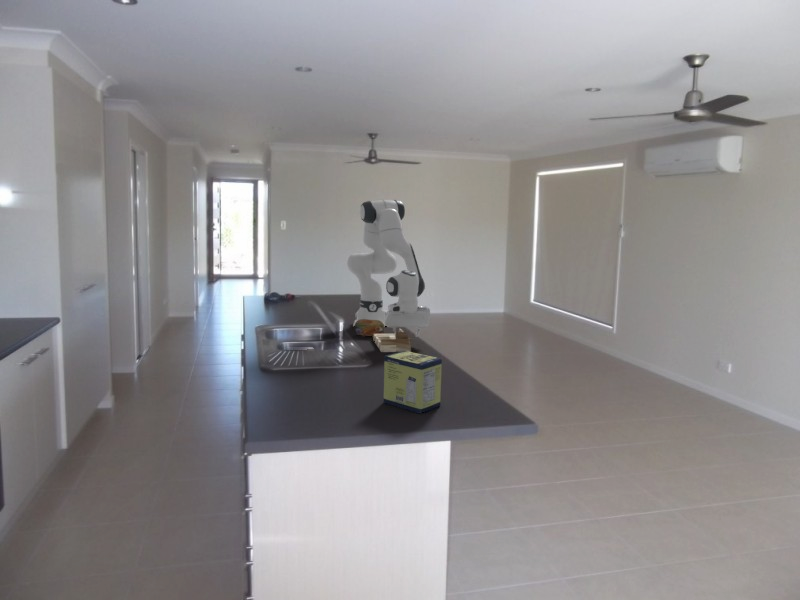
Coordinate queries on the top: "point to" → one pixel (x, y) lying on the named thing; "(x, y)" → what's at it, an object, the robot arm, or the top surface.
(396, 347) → the board
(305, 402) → the top surface
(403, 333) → the walnut block
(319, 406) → the top surface
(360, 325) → the tin
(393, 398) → the protein box
